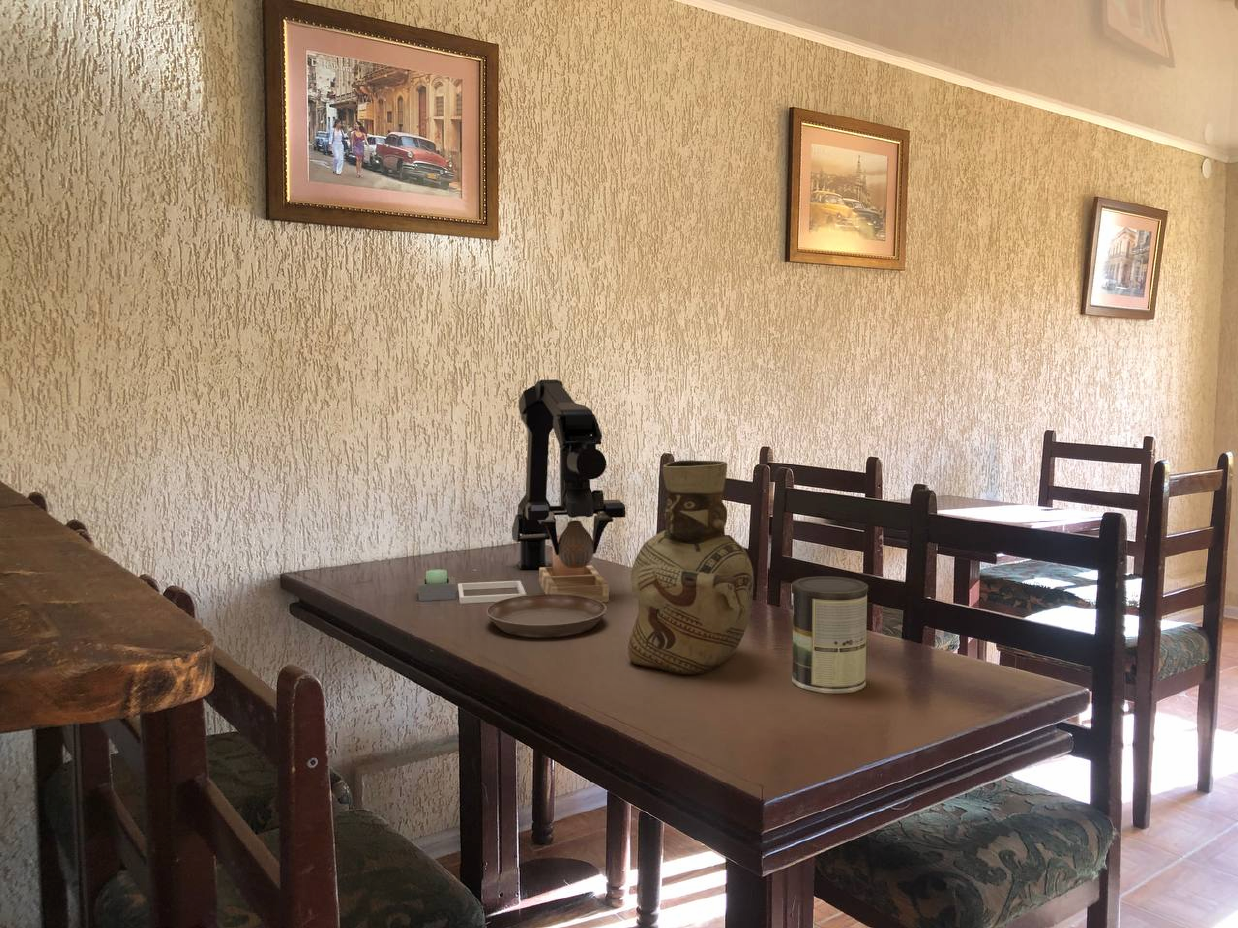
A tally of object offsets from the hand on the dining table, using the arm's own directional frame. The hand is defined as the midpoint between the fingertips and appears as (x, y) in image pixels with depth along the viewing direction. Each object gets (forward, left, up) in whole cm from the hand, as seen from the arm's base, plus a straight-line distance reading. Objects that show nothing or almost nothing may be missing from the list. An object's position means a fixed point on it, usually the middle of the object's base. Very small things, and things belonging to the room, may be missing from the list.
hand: (575, 554), depth 190 cm
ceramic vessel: (+44, +11, -9) cm, 46 cm away
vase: (0, 0, -3) cm, 3 cm away
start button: (-7, -27, -8) cm, 29 cm away
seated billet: (-10, 0, -7) cm, 12 cm away
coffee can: (+59, +27, -9) cm, 66 cm away
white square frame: (-6, -16, -9) cm, 19 cm away
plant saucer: (+19, -8, -9) cm, 23 cm away
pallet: (-5, 0, -9) cm, 10 cm away
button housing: (-7, -26, -9) cm, 29 cm away
